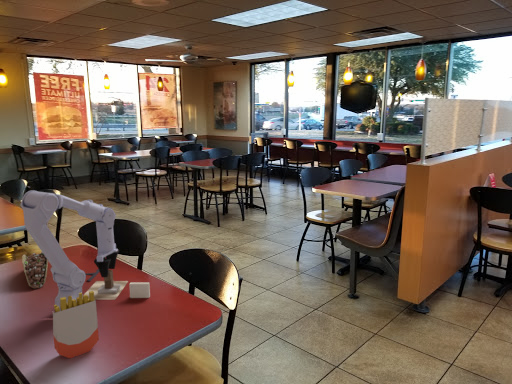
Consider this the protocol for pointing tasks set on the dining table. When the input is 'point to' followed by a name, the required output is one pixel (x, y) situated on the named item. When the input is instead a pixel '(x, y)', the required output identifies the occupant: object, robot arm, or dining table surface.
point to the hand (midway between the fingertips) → (108, 272)
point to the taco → (35, 269)
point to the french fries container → (75, 325)
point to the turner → (109, 285)
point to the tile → (139, 289)
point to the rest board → (104, 296)
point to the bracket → (92, 275)
